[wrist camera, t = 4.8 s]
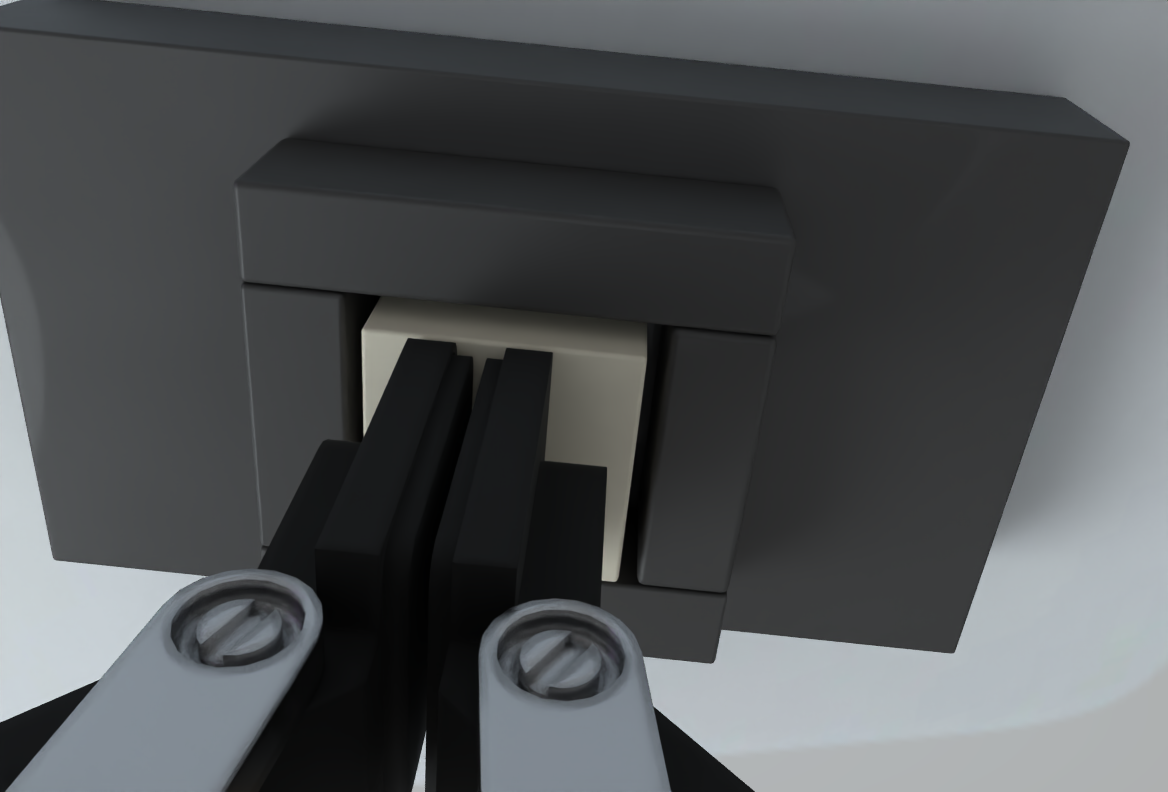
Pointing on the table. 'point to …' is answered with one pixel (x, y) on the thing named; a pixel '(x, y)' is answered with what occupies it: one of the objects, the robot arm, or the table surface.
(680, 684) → the table surface
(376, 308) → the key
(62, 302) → the key block
